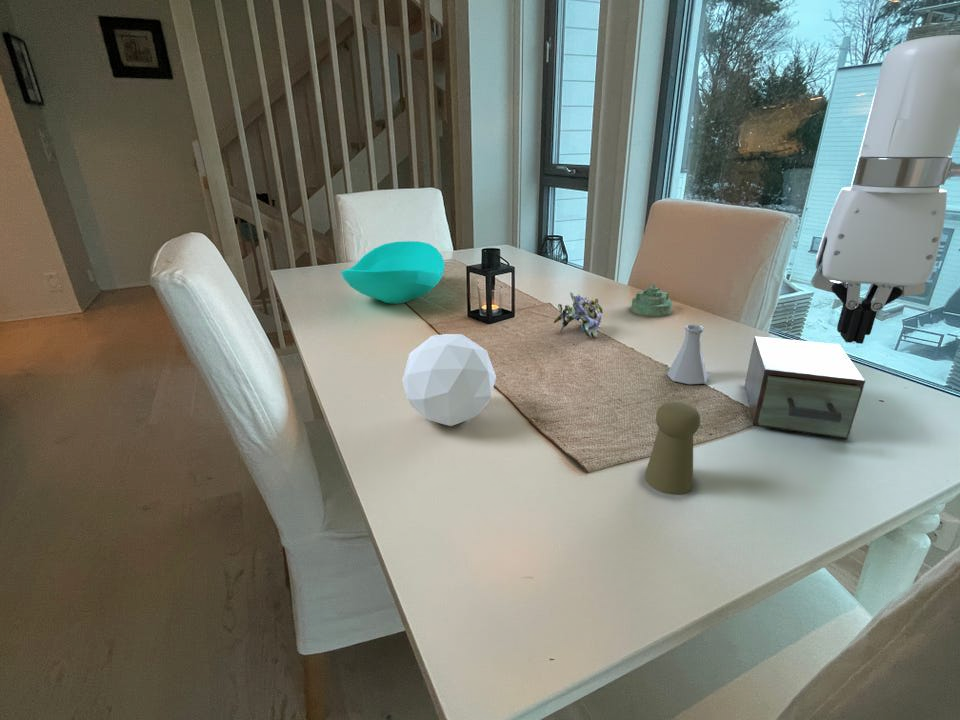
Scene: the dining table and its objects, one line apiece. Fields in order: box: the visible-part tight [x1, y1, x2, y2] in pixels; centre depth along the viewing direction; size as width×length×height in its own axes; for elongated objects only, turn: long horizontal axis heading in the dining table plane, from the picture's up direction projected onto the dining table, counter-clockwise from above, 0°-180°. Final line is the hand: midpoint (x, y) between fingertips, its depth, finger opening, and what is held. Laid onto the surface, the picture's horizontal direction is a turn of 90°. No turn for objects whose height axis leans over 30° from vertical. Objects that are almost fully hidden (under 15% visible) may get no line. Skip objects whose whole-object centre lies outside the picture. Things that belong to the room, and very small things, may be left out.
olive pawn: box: [644, 400, 701, 495], centre depth 65 cm, size 6×6×11 cm
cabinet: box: [744, 335, 866, 440], centre depth 82 cm, size 15×13×10 cm
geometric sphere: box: [401, 333, 497, 427], centre depth 81 cm, size 14×15×15 cm
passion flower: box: [553, 292, 604, 338], centre depth 117 cm, size 11×11×12 cm
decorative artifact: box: [630, 283, 674, 317], centre depth 132 cm, size 10×7×10 cm
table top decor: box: [340, 240, 446, 304], centre depth 145 cm, size 40×28×13 cm
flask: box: [666, 323, 708, 385], centre depth 94 cm, size 7×7×10 cm
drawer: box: [758, 375, 861, 437], centre depth 78 cm, size 18×11×8 cm, turn 159°
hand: (851, 338), depth 61 cm, fingers closed
